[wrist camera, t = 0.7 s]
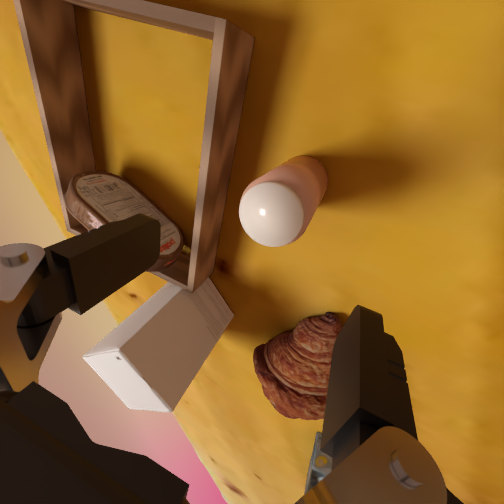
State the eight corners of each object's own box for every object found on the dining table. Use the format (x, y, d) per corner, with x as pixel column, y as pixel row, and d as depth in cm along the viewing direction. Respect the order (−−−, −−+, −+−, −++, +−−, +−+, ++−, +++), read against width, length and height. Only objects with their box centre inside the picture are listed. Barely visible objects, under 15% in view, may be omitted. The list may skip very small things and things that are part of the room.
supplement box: (166, 281, 40) (77, 355, 28) (204, 266, 35) (116, 348, 23) (196, 324, 42) (127, 410, 30) (236, 316, 37) (172, 415, 25)
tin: (108, 178, 34) (43, 195, 27) (113, 160, 32) (46, 173, 25) (189, 252, 35) (145, 287, 28) (198, 239, 33) (154, 272, 26)
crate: (65, -8, 24) (6, -31, 20) (254, 37, 20) (226, 19, 16) (98, 218, 39) (67, 230, 35) (212, 272, 35) (192, 293, 31)
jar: (285, 148, 23) (243, 167, 15) (336, 165, 22) (319, 195, 14) (271, 197, 26) (229, 234, 18) (316, 214, 25) (292, 261, 17)
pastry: (379, 404, 34) (382, 471, 28) (282, 397, 42) (267, 448, 36) (338, 308, 30) (329, 362, 23) (238, 320, 38) (211, 364, 31)
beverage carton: (366, 448, 40) (365, 500, 35) (346, 494, 49) (344, 541, 44) (316, 428, 43) (309, 473, 37) (306, 475, 52) (299, 517, 47)
